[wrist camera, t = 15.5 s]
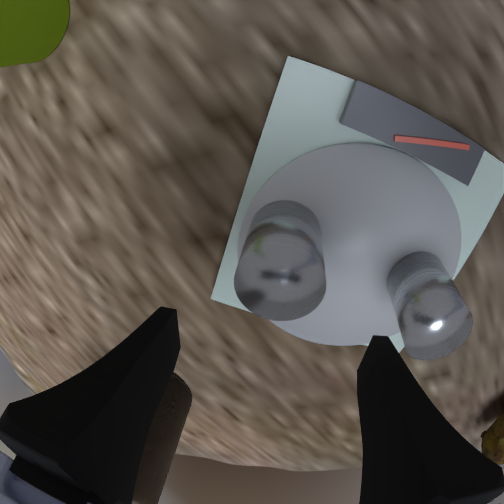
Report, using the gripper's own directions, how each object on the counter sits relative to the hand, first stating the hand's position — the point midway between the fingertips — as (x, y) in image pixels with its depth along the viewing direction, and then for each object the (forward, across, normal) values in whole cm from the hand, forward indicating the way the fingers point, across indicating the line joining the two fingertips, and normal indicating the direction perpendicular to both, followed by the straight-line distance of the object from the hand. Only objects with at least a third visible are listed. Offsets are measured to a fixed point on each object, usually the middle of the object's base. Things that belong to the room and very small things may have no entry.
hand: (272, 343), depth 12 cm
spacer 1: (+8, 0, 0) cm, 8 cm away
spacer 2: (+8, -9, +2) cm, 12 cm away
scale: (+10, -5, 0) cm, 11 cm away
